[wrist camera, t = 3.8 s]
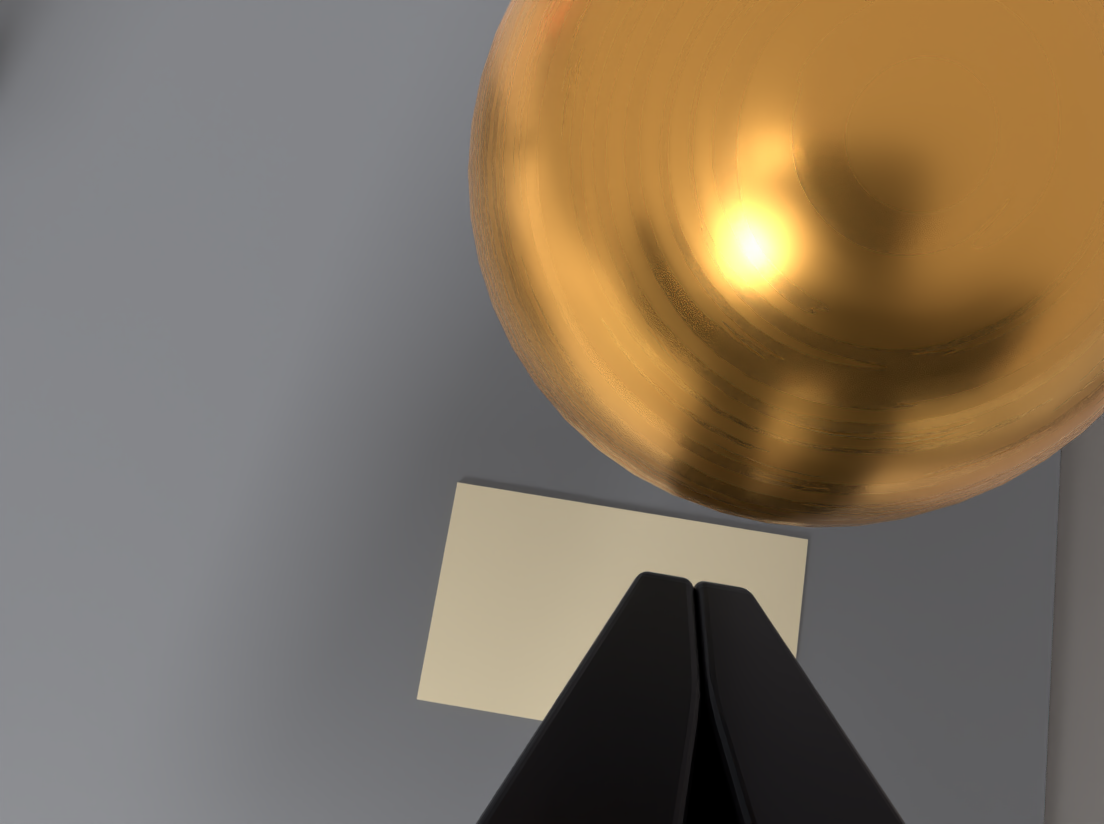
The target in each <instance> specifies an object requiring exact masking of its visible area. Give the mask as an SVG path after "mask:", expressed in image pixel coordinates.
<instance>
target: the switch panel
mask: <svg viewBox="0 0 1104 824" xmlns="http://www.w3.org/2000/svg"><path fill="white" fill-rule="evenodd" d="M510 2H511V0H0V824H476V823H477V821H478V820H479V818H480V816H481V815H482V813H483V812H484V810H485V809H486V807H487V806H488V804H489V803H490V801H491V800H492V798H493V796H494V795H495V793H496V792H497V790H498V789H499V787H500V786H501V784H502V783H503V781H504V779H505V778H506V776H507V775H508V773H509V772H510V770H511V769H512V767H513V766H514V764H515V763H516V761H517V759H518V758H519V756H520V755H521V753H522V752H523V750H524V749H525V747H526V746H527V744H528V743H529V741H530V739H531V738H532V736H533V735H534V733H535V732H536V730H537V729H538V727H539V726H540V724H541V723H542V721H543V719H544V718H545V716H546V715H547V713H548V712H549V710H550V709H551V707H552V706H553V704H554V703H555V701H556V699H557V698H558V696H559V695H560V693H561V692H562V690H563V689H564V687H565V686H566V684H567V682H568V681H569V679H570V678H571V676H572V675H573V673H574V672H575V670H576V669H577V667H578V666H579V664H580V662H581V661H582V659H583V658H584V656H585V655H586V653H587V652H588V650H589V649H590V647H591V646H592V644H593V642H594V641H595V639H596V638H597V636H598V635H599V633H600V632H601V630H602V629H603V627H604V626H605V624H606V622H607V621H608V619H609V618H610V616H611V615H612V613H613V612H614V610H615V609H616V607H617V606H618V604H619V602H620V601H621V599H622V598H623V596H624V595H625V593H626V592H627V590H628V589H629V587H630V586H631V584H632V582H633V581H634V579H635V578H636V577H637V576H638V575H639V574H640V573H642V572H645V571H649V572H654V573H660V574H666V575H672V576H678V577H684V578H687V579H688V580H689V581H690V582H691V583H692V585H693V587H694V586H695V585H696V584H697V583H698V582H700V581H707V582H713V583H719V584H725V585H731V586H737V587H742V588H745V589H747V590H748V591H749V592H751V593H752V594H753V596H754V597H755V599H756V600H757V602H758V603H759V605H760V606H761V608H762V609H763V611H764V612H765V614H766V615H767V617H768V618H769V620H770V621H771V623H772V624H773V626H774V627H775V629H776V630H777V632H778V633H779V635H780V636H781V638H782V639H783V641H784V642H785V643H786V645H787V646H788V648H789V649H790V651H791V652H792V654H793V655H794V657H795V658H796V660H797V661H798V663H799V664H800V666H801V667H802V669H803V670H804V672H805V673H806V675H807V676H808V678H809V679H810V681H811V682H812V684H813V685H814V687H815V688H816V690H817V691H818V693H819V694H820V696H821V697H822V699H823V700H824V702H825V703H826V705H827V706H828V708H829V709H830V711H831V712H832V714H833V715H834V717H835V718H836V720H837V721H838V723H839V724H840V726H841V727H842V729H843V730H844V732H845V733H846V735H847V736H848V738H849V739H850V741H851V742H852V744H853V745H854V747H855V748H856V750H857V751H858V753H859V754H860V756H861V757H862V759H863V760H864V762H865V763H866V765H867V766H868V768H869V769H870V771H871V772H872V774H873V775H874V777H875V778H876V780H877V781H878V783H879V784H880V786H881V787H882V789H883V790H884V792H885V793H886V795H887V796H888V798H889V799H890V801H891V802H892V804H893V805H894V807H895V808H896V810H897V811H898V813H899V814H900V816H901V817H902V819H903V820H904V822H905V823H906V824H1044V812H1045V790H1046V768H1047V747H1048V725H1049V703H1050V681H1051V659H1052V637H1053V616H1054V594H1055V572H1056V550H1057V528H1058V507H1059V485H1060V463H1061V449H1060V450H1058V451H1057V452H1056V453H1054V454H1053V455H1052V456H1050V457H1049V458H1048V459H1046V460H1045V461H1043V462H1042V463H1040V464H1038V465H1036V466H1035V467H1033V468H1031V469H1029V470H1028V471H1026V472H1024V473H1022V474H1021V475H1019V476H1017V477H1015V478H1014V479H1012V480H1010V481H1008V482H1007V483H1005V484H1003V485H1001V486H999V487H996V488H994V489H991V490H989V491H987V492H984V493H982V494H980V495H977V496H975V497H972V498H970V499H968V500H965V501H963V502H961V503H958V504H954V505H951V506H948V507H944V508H941V509H937V510H934V511H930V512H927V513H923V514H919V515H916V516H912V517H909V518H905V519H901V520H894V521H888V522H881V523H875V524H868V525H862V526H846V527H801V526H791V525H781V524H771V523H764V522H759V521H755V520H751V519H746V518H742V517H737V516H733V515H729V514H724V513H721V512H718V511H715V510H712V509H709V508H707V507H704V506H701V505H699V504H696V503H693V502H690V501H688V500H685V499H682V498H680V497H677V496H674V495H672V494H670V493H668V492H666V491H664V490H662V489H660V488H658V487H656V486H655V485H653V484H651V483H649V482H647V481H645V480H643V479H641V478H639V477H637V476H635V475H634V474H632V473H631V472H629V471H628V470H626V469H625V468H624V467H622V466H621V465H619V464H618V463H616V462H615V461H614V460H612V459H611V458H609V457H608V456H606V455H605V454H604V453H602V452H601V451H599V450H598V449H597V448H596V447H594V446H593V445H592V444H591V443H590V442H589V441H588V440H587V439H586V438H585V437H584V436H582V435H581V434H580V433H579V432H578V431H577V430H576V429H575V428H574V427H573V426H572V425H570V424H569V423H568V422H567V421H566V420H565V419H564V418H563V417H562V415H561V414H560V413H559V412H558V411H557V410H556V408H555V407H554V406H553V405H552V404H551V402H550V401H549V400H548V399H547V398H546V396H545V395H544V394H543V393H542V392H541V390H540V389H539V388H538V387H537V386H536V384H535V383H534V381H533V380H532V378H531V377H530V375H529V373H528V372H527V370H526V369H525V367H524V366H523V364H522V362H521V361H520V359H519V358H518V356H517V355H516V353H515V352H514V350H513V348H512V347H511V344H510V342H509V340H508V338H507V336H506V334H505V332H504V330H503V327H502V325H501V323H500V321H499V319H498V317H497V315H496V313H495V310H494V308H493V306H492V303H491V300H490V297H489V293H488V290H487V287H486V284H485V281H484V278H483V275H482V272H481V269H480V265H479V262H478V256H477V251H476V245H475V240H474V234H473V229H472V224H471V218H470V200H469V182H468V163H469V149H470V136H471V123H472V118H473V113H474V108H475V103H476V98H477V94H478V89H479V84H480V79H481V75H482V72H483V69H484V66H485V63H486V60H487V57H488V54H489V51H490V48H491V45H492V42H493V39H494V36H495V33H496V31H497V29H498V26H499V24H500V22H501V20H502V18H503V16H504V14H505V12H506V10H507V8H508V6H509V4H510Z"/></svg>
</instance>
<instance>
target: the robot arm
mask: <svg viewBox="0 0 1104 824" xmlns="http://www.w3.org/2000/svg"><path fill="white" fill-rule="evenodd" d="M476 824H906V823H905V822H904V820H903V819H902V817H901V816H900V814H899V813H898V811H897V810H896V808H895V807H894V805H893V804H892V802H891V801H890V799H889V798H888V796H887V795H886V793H885V792H884V790H883V789H882V787H881V786H880V784H879V783H878V781H877V780H876V778H875V777H874V775H873V774H872V772H871V771H870V769H869V768H868V766H867V765H866V763H865V762H864V760H863V759H862V757H861V756H860V754H859V753H858V751H857V750H856V748H855V747H854V745H853V744H852V742H851V741H850V739H849V738H848V736H847V735H846V733H845V732H844V730H843V729H842V727H841V726H840V724H839V723H838V721H837V720H836V718H835V717H834V715H833V714H832V712H831V711H830V709H829V708H828V706H827V705H826V703H825V702H824V700H823V699H822V697H821V696H820V694H819V693H818V691H817V690H816V688H815V687H814V685H813V684H812V682H811V681H810V679H809V678H808V676H807V675H806V673H805V672H804V670H803V669H802V667H801V666H800V664H799V663H798V661H797V660H796V658H795V657H794V655H793V654H792V652H791V651H790V649H789V648H788V646H787V645H786V643H785V642H784V641H783V639H782V638H781V636H780V635H779V633H778V632H777V630H776V629H775V627H774V626H773V624H772V623H771V621H770V620H769V618H768V617H767V615H766V614H765V612H764V611H763V609H762V608H761V606H760V605H759V603H758V602H757V600H756V599H755V597H754V596H753V594H752V593H751V592H749V591H748V590H747V589H745V588H742V587H737V586H731V585H725V584H719V583H713V582H707V581H700V582H698V583H697V584H696V585H695V586H694V587H693V585H692V583H691V582H690V581H689V580H688V579H687V578H684V577H678V576H672V575H666V574H660V573H654V572H649V571H645V572H642V573H640V574H639V575H638V576H637V577H636V578H635V579H634V581H633V582H632V584H631V586H630V587H629V589H628V590H627V592H626V593H625V595H624V596H623V598H622V599H621V601H620V602H619V604H618V606H617V607H616V609H615V610H614V612H613V613H612V615H611V616H610V618H609V619H608V621H607V622H606V624H605V626H604V627H603V629H602V630H601V632H600V633H599V635H598V636H597V638H596V639H595V641H594V642H593V644H592V646H591V647H590V649H589V650H588V652H587V653H586V655H585V656H584V658H583V659H582V661H581V662H580V664H579V666H578V667H577V669H576V670H575V672H574V673H573V675H572V676H571V678H570V679H569V681H568V682H567V684H566V686H565V687H564V689H563V690H562V692H561V693H560V695H559V696H558V698H557V699H556V701H555V703H554V704H553V706H552V707H551V709H550V710H549V712H548V713H547V715H546V716H545V718H544V719H543V721H542V723H541V724H540V726H539V727H538V729H537V730H536V732H535V733H534V735H533V736H532V738H531V739H530V741H529V743H528V744H527V746H526V747H525V749H524V750H523V752H522V753H521V755H520V756H519V758H518V759H517V761H516V763H515V764H514V766H513V767H512V769H511V770H510V772H509V773H508V775H507V776H506V778H505V779H504V781H503V783H502V784H501V786H500V787H499V789H498V790H497V792H496V793H495V795H494V796H493V798H492V800H491V801H490V803H489V804H488V806H487V807H486V809H485V810H484V812H483V813H482V815H481V816H480V818H479V820H478V821H477V823H476Z"/></svg>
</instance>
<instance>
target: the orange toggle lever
mask: <svg viewBox="0 0 1104 824" xmlns="http://www.w3.org/2000/svg"><path fill="white" fill-rule="evenodd" d="M468 182H469V200H470V218H471V224H472V229H473V234H474V240H475V245H476V251H477V256H478V262H479V265H480V269H481V272H482V275H483V278H484V281H485V284H486V287H487V290H488V293H489V297H490V300H491V303H492V306H493V308H494V310H495V313H496V315H497V317H498V319H499V321H500V323H501V325H502V327H503V330H504V332H505V334H506V336H507V338H508V340H509V342H510V344H511V347H512V348H513V350H514V352H515V353H516V355H517V356H518V358H519V359H520V361H521V362H522V364H523V366H524V367H525V369H526V370H527V372H528V373H529V375H530V377H531V378H532V380H533V381H534V383H535V384H536V386H537V387H538V388H539V389H540V390H541V392H542V393H543V394H544V395H545V396H546V398H547V399H548V400H549V401H550V402H551V404H552V405H553V406H554V407H555V408H556V410H557V411H558V412H559V413H560V414H561V415H562V417H563V418H564V419H565V420H566V421H567V422H568V423H569V424H570V425H572V426H573V427H574V428H575V429H576V430H577V431H578V432H579V433H580V434H581V435H582V436H584V437H585V438H586V439H587V440H588V441H589V442H590V443H591V444H592V445H593V446H594V447H596V448H597V449H598V450H599V451H601V452H602V453H604V454H605V455H606V456H608V457H609V458H611V459H612V460H614V461H615V462H616V463H618V464H619V465H621V466H622V467H624V468H625V469H626V470H628V471H629V472H631V473H632V474H634V475H635V476H637V477H639V478H641V479H643V480H645V481H647V482H649V483H651V484H653V485H655V486H656V487H658V488H660V489H662V490H664V491H666V492H668V493H670V494H672V495H674V496H677V497H680V498H682V499H685V500H688V501H690V502H693V503H696V504H699V505H701V506H704V507H707V508H709V509H712V510H715V511H718V512H721V513H724V514H729V515H733V516H737V517H742V518H746V519H751V520H755V521H759V522H764V523H771V524H781V525H791V526H801V527H846V526H862V525H868V524H875V523H881V522H888V521H894V520H901V519H905V518H909V517H912V516H916V515H919V514H923V513H927V512H930V511H934V510H937V509H941V508H944V507H948V506H951V505H954V504H958V503H961V502H963V501H965V500H968V499H970V498H972V497H975V496H977V495H980V494H982V493H984V492H987V491H989V490H991V489H994V488H996V487H999V486H1001V485H1003V484H1005V483H1007V482H1008V481H1010V480H1012V479H1014V478H1015V477H1017V476H1019V475H1021V474H1022V473H1024V472H1026V471H1028V470H1029V469H1031V468H1033V467H1035V466H1036V465H1038V464H1040V463H1042V462H1043V461H1045V460H1046V459H1048V458H1049V457H1050V456H1052V455H1053V454H1054V453H1056V452H1057V451H1058V450H1060V449H1061V448H1062V447H1064V446H1065V445H1066V444H1068V443H1069V442H1070V441H1072V440H1073V439H1074V438H1076V437H1077V436H1078V435H1080V434H1081V433H1082V432H1084V431H1085V430H1086V429H1087V428H1088V427H1089V426H1090V425H1091V424H1092V423H1093V422H1094V421H1095V420H1096V419H1097V418H1098V417H1099V416H1100V415H1101V414H1102V413H1104V0H511V2H510V4H509V6H508V8H507V10H506V12H505V14H504V16H503V18H502V20H501V22H500V24H499V26H498V29H497V31H496V33H495V36H494V39H493V42H492V45H491V48H490V51H489V54H488V57H487V60H486V63H485V66H484V69H483V72H482V75H481V79H480V84H479V89H478V94H477V98H476V103H475V108H474V113H473V118H472V123H471V136H470V149H469V163H468Z"/></svg>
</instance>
